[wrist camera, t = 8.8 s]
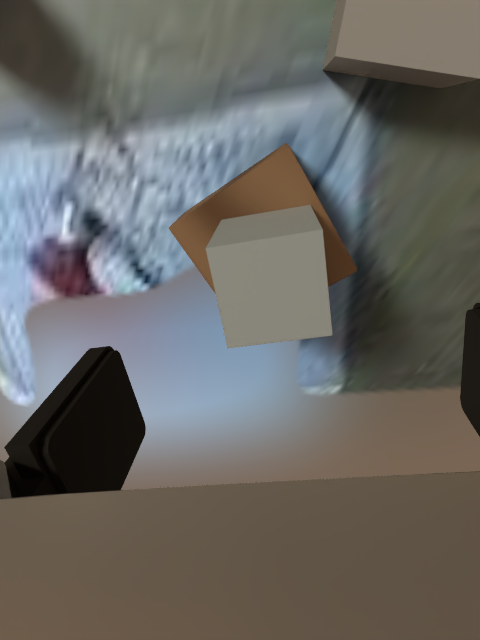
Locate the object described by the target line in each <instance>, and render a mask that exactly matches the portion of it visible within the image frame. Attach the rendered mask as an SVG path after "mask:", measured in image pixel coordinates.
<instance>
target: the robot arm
mask: <svg viewBox="0 0 480 640" xmlns="http://www.w3.org/2000/svg"><path fill="white" fill-rule="evenodd" d="M460 400H461V405H462V408H463V411H464V413H465V414H466V416H467V417H468V419H469V421H470V422H471V424H472V425H473V427H474V429H475V430H476V432H477V433H478V435H479V436H480V303H476V304H475V305H474V308H473V309H471V310H468V311H467V313H466V319H465V334H464V349H463V364H462V379H461V395H460ZM144 436H145V423H144V420H143V417H142V414H141V411H140V408H139V405H138V403H137V400H136V397H135V394H134V392H133V389H132V386H131V383H130V381H129V377H128V375H127V372H126V369H125V366H124V364H123V360H122V358H121V355H120V353H119V352H118V351H114V349H113V348H112V347H110V346H107V347H99V348H90V349H89V350H88V351H87V352H86V353H85V354H84V355H83V357H82V358H81V359H80V360H79V361H78V362H77V364H76V365H75V366H74V367H73V368H72V369H71V371H70V372H69V373H68V374H67V375H66V377H65V378H64V379H63V380H62V381H61V382H60V383H59V384H58V386H57V387H56V388H55V389H54V390H53V391H52V393H51V394H50V395H49V396H48V397H47V399H46V400H45V401H44V402H43V403H42V404H41V406H40V407H39V408H38V409H37V410H36V411H35V412H34V414H33V415H32V416H31V417H30V418H29V419H28V421H27V422H26V423H25V424H24V425H23V426H22V428H21V429H20V430H19V431H18V432H17V433H16V435H15V436H14V437H13V438H12V439H11V441H9V443H8V444H7V445H6V446H5V449H6V451H7V453H8V455H9V458H8V459H7V461H6V462H5V463H4V462H3V461H1V460H0V640H480V471H477V472H458V473H457V472H456V473H437V474H436V473H435V474H416V475H415V474H414V475H393V476H372V477H352V478H332V479H314V480H313V479H312V480H294V481H274V482H255V483H238V484H219V485H204V486H203V485H202V486H184V487H167V488H150V489H135V490H121V488H122V486H123V484H124V481H125V479H126V477H127V475H128V472H129V470H130V468H131V466H132V463H133V461H134V458H135V456H136V454H137V452H138V450H139V447H140V445H141V443H142V440H143V438H144Z"/></svg>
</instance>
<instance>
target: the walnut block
mask: <svg viewBox="0 0 480 640" xmlns="http://www.w3.org/2000/svg"><path fill="white" fill-rule="evenodd" d="M306 205H311V207H312V209H313V211H314V213H315V215H316V217H317V219H318V221H319V223H320V225H321V227H322V229H323V238H324V249H325V260H326V271H327V281H328V287H329V286H331V285H332V284H334V283H336V282H338V281H340V280H342V279H343V278H345V277H347V276H349V275H351V274H352V273H354V272H356V271H358V269H357V268H356V266H355V264H354V262H353V260H352V259H351V257H350V255H349V253H348V251H347V250H346V248H345V246H344V244H343V242H342V240H341V239H340V237H339V235H338V233H337V231H336V230H335V228H334V226H333V224H332V222H331V221H330V219H329V217H328V215H327V213H326V212H325V210H324V208H323V206H322V204H321V202H320V201H319V199H318V197H317V195H316V193H315V192H314V190H313V188H312V186H311V184H310V183H309V181H308V179H307V177H306V175H305V174H304V172H303V170H302V168H301V166H300V164H299V163H298V161H297V159H296V157H295V155H294V154H293V152H292V150H291V148H290V146H289V145H288V144H286V143H285V144H284V145H282V146H281V147H279V148H278V149H276V150H275V151H273V152H272V153H270V154H269V155H268V156H266V157H265V158H263V159H262V160H260V161H259V162H257V163H256V164H254V165H253V166H252V167H250V168H249V169H247V170H246V171H244V172H243V173H241V174H240V175H238V176H237V177H236V178H234V179H233V180H231V181H230V182H228V183H227V184H225V185H224V186H222V187H221V188H220V189H218V190H217V191H215V192H214V193H212V194H211V195H209V196H208V197H206V198H205V199H204V200H202V201H201V202H199V203H198V204H196V205H195V206H193V207H192V208H190V209H189V210H188V211H186V212H185V213H184V214H183V215H181V216H180V217H179V218H178V219H177V220H176V221H175V222H174V223H173V224H172V225H171V226H170V227H169V229H170V231H171V232H172V234H173V235H174V236H175V238H176V239H177V241H178V242H179V243H180V245H181V246H182V248H183V249H184V250H185V252H186V253H187V255H188V256H189V257H190V259H191V260H192V262H193V263H194V264H195V266H196V267H197V269H198V270H199V271H200V273H201V274H202V276H203V277H204V278H205V280H206V281H207V283H208V284H209V285H210V287H211V288H212V290H213V291H214V292H215V289H214V284H213V280H212V275H211V271H210V266H209V262H208V257H207V252H206V247H207V245H208V243H209V241H210V240H211V238H212V236H213V234H214V232H215V231H216V229H217V227H218V225H219V223H220V222H221V220H223V219H229V218H235V217H241V216H247V215H253V214H259V213H264V212H270V211H276V210H282V209H288V208H294V207H300V206H306ZM215 294H216V293H215Z"/></svg>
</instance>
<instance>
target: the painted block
mask: <svg viewBox="0 0 480 640" xmlns="http://www.w3.org/2000/svg"><path fill="white" fill-rule="evenodd" d="M206 252H207V257H208V262H209V266H210V271H211V275H212V280H213V284H214V289H215V293H216V297H217V302H218V307H219V311H220V316H221V320H222V325H223V329H224V334H225V338H226V343H227V348H234V347H242V346H250V345H259V344H267V343H275V342H283V341H292V340H300V339H308V338H316V337H324V336H333V335H332V325H331V314H330V303H329V292H328V281H327V271H326V260H325V249H324V238H323V229H322V227H321V225H320V223H319V221H318V219H317V217H316V215H315V213H314V211H313V209H312V207H311V205H306V206H300V207H294V208H288V209H282V210H276V211H270V212H264V213H259V214H253V215H247V216H241V217H235V218H229V219H223V220H221V222H220V223H219V225H218V227H217V229H216V231H215V232H214V234H213V236H212V238H211V240H210V241H209V243H208V245H207V247H206Z"/></svg>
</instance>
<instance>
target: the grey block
mask: <svg viewBox="0 0 480 640" xmlns="http://www.w3.org/2000/svg"><path fill="white" fill-rule="evenodd" d="M323 70H324V71H331V72H337V73H343V74H350V75H356V76H363V77H369V78H376V79H382V80H388V81H395V82H401V83H408V84H414V85H421V86H427V87H433V88H440V89H442V88H446V87H450V86H454V85H458V84H462V83H466V82H470V81H474V80H478V79H480V0H336V4H335V9H334V15H333V20H332V25H331V30H330V35H329V40H328V45H327V50H326V55H325V60H324V65H323Z"/></svg>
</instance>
